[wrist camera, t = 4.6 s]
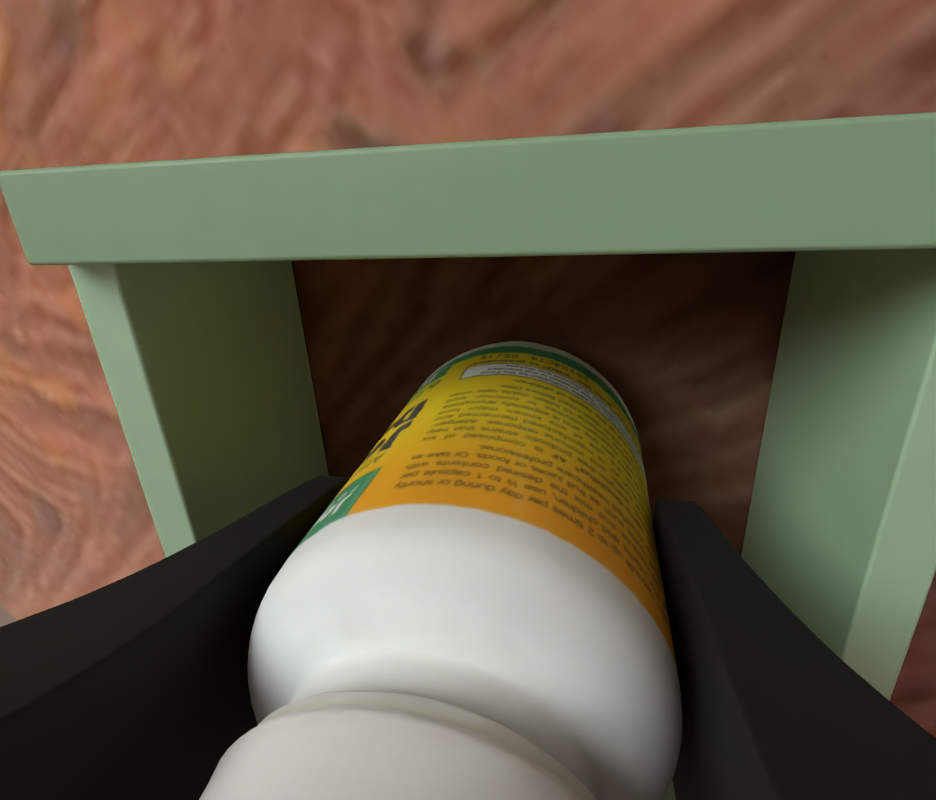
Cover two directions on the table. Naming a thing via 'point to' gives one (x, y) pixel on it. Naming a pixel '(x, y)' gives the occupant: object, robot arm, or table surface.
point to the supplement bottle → (473, 607)
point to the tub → (537, 234)
